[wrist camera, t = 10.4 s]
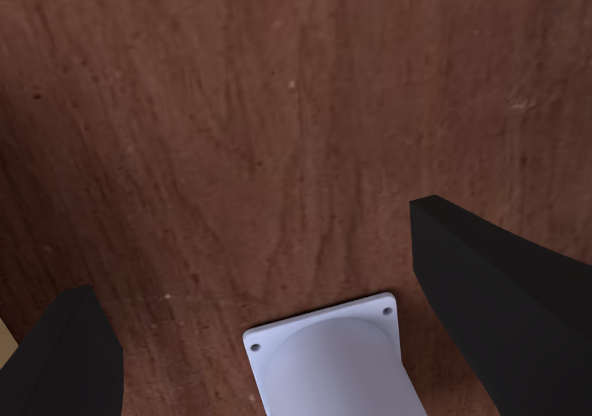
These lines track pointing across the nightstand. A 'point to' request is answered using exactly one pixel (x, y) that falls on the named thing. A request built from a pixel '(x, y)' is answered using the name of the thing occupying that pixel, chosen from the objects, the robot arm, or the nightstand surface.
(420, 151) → the nightstand surface
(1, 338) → the stand
